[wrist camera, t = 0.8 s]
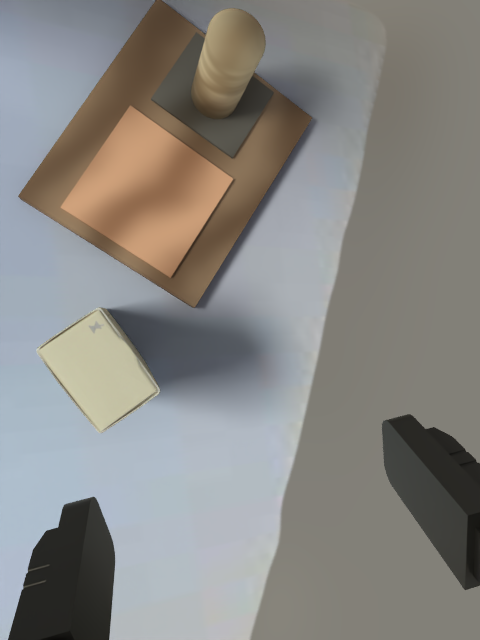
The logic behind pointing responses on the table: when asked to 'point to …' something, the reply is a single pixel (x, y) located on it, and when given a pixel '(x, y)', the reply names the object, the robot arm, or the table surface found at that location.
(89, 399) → the skincare box
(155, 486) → the table surface
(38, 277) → the table surface
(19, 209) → the table surface
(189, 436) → the table surface
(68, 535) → the robot arm
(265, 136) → the board
